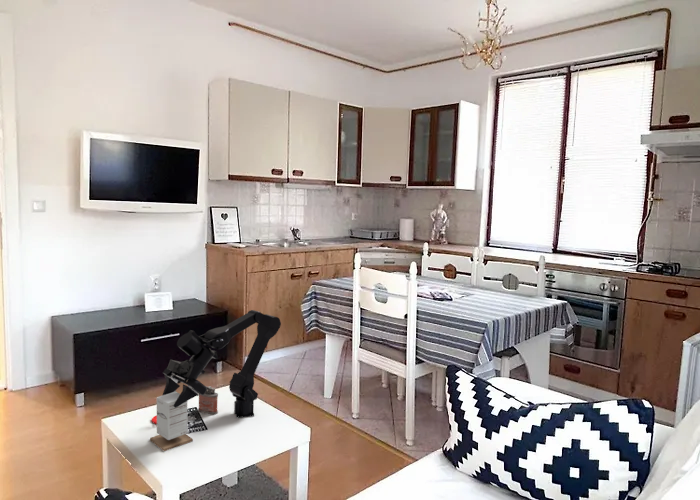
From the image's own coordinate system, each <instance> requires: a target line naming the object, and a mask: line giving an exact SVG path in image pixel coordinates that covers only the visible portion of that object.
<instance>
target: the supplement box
mask: <svg viewBox="0 0 700 500" xmlns="http://www.w3.org/2000/svg"><path fill="white" fill-rule="evenodd" d="M180 394H181V393H179V392H177V391H176V392H172V393H169V394H166V395H163V394H162V395H159V396H156V415H157V424H156V434H157V435H161V436H163V437H164V438H166V439H167V440H171V439H173V438H176V437H179V436H181V435H184V434H186V435H188V433H189V432H188V430H189V429H188V427H189V426H188V401H186V402H184V403H183V404H181V405H180V406H178V407H176V408H175V407H174V406H173V405H174V404H175V402H176V400H177V399H178V397H179V395H180Z"/></svg>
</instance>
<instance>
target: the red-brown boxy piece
mask: <svg viewBox="0 0 700 500" xmlns="http://www.w3.org/2000/svg"><path fill="white" fill-rule="evenodd" d="M205 386H206V387H207V391H206V392H205V394H204V395H201V394H199V393H198V395H199V396H198V408H197V412H198V413H201V414H206V415H211V416H215V415H218V413H219V411H218V398H219V393H218V392H216V388H215V387H212V386H211V385H209V386H207V385H205Z"/></svg>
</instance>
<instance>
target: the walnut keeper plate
mask: <svg viewBox="0 0 700 500" xmlns="http://www.w3.org/2000/svg"><path fill="white" fill-rule="evenodd" d="M149 441H150V442H151V443H153V445H155V446H157V447H158V448H159V449H161V450H162V451H163V452H166V451H169V450H172V449H175V448H177V447H180V446H183V445H186V444H188V443H191V442H192V443H193V441H194V439H193V438H192V437H191V436H189V435H188V434H184V435H181V436H179V437H176V438H173V439H171V440H167V439H166V438H164V437H163V436H161V435H159V434H157V435H154V436H151V437H150V438H149Z"/></svg>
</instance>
